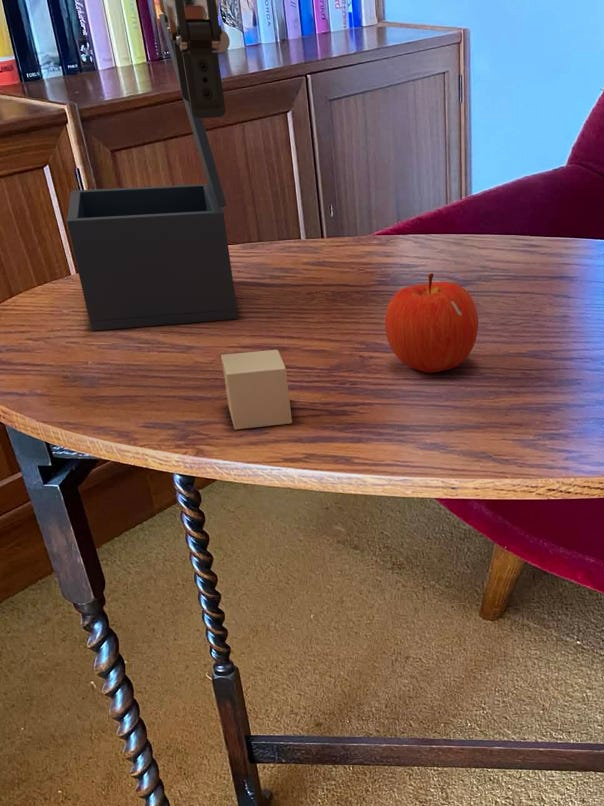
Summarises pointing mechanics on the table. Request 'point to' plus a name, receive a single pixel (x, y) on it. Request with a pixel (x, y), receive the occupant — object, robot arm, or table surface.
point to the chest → (151, 256)
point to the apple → (432, 325)
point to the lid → (201, 124)
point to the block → (256, 389)
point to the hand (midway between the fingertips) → (203, 108)
